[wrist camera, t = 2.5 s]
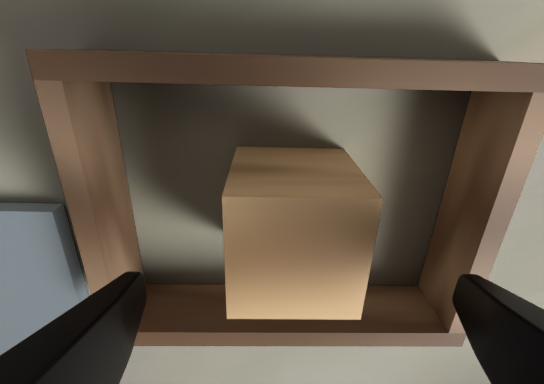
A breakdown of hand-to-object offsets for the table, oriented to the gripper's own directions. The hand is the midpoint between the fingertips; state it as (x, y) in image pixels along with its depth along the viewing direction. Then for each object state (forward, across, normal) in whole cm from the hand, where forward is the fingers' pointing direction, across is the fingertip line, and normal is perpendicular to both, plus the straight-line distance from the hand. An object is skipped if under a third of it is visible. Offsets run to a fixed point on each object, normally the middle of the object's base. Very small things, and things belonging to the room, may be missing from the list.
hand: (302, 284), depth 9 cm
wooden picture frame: (+6, 0, 0) cm, 6 cm away
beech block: (+6, 0, 0) cm, 6 cm away
